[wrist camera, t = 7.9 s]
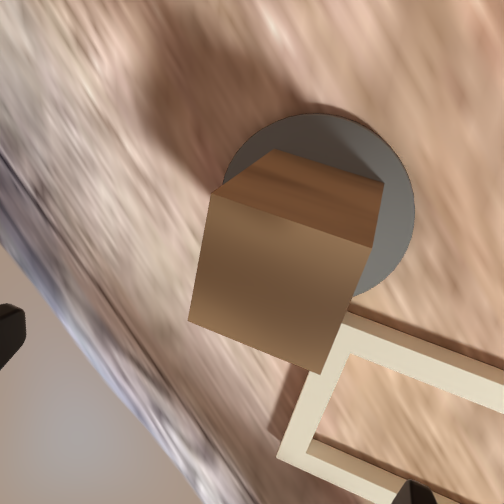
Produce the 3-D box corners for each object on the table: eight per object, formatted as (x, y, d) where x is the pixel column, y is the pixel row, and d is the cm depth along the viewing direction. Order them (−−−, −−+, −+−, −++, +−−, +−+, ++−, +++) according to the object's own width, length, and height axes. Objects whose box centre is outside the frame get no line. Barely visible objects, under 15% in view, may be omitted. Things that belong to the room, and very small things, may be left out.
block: (346, 279, 20) (320, 375, 14) (250, 245, 21) (187, 321, 15) (384, 183, 18) (372, 248, 12) (274, 148, 19) (211, 193, 13)
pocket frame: (525, 552, 24) (530, 574, 23) (280, 442, 27) (275, 457, 26) (654, 427, 19) (667, 448, 18) (334, 306, 22) (330, 318, 21)
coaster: (372, 320, 21) (371, 327, 21) (211, 259, 23) (206, 264, 23) (450, 148, 17) (452, 151, 17) (245, 88, 19) (241, 89, 18)
